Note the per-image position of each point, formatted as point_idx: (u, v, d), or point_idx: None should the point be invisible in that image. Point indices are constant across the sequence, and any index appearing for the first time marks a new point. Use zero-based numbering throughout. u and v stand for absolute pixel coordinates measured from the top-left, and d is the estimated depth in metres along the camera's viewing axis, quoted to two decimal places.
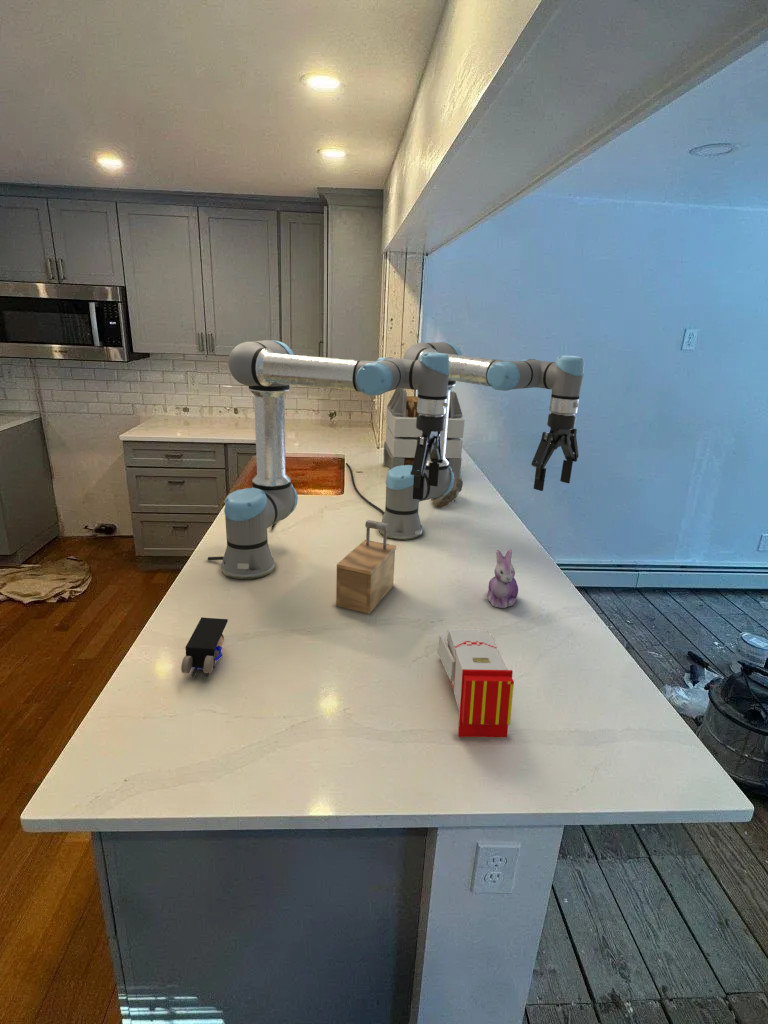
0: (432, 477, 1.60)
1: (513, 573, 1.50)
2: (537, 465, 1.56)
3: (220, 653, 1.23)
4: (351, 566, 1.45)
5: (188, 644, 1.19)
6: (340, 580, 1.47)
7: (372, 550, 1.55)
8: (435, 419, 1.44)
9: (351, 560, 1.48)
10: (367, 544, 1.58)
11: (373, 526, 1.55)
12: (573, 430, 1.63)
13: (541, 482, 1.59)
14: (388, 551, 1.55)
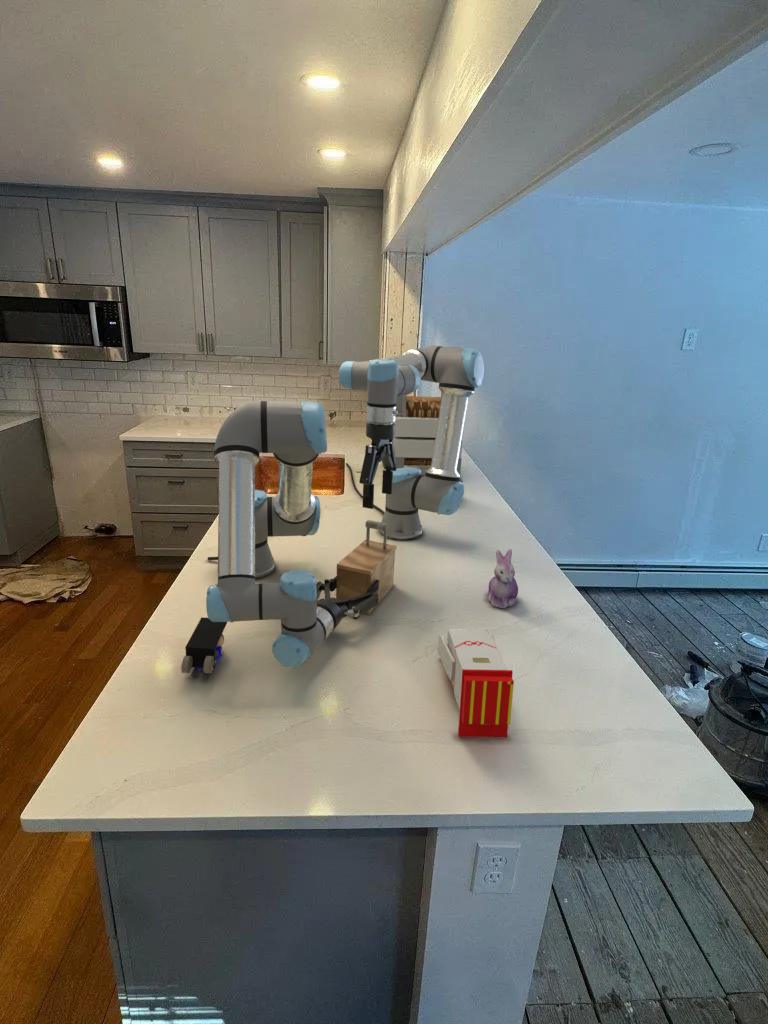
0: None
1: (513, 573, 1.50)
2: (366, 482, 1.41)
3: (220, 653, 1.23)
4: (351, 566, 1.45)
5: (188, 644, 1.19)
6: (340, 580, 1.47)
7: (372, 550, 1.55)
8: None
9: (351, 560, 1.48)
10: (367, 544, 1.58)
11: (373, 526, 1.55)
12: (390, 438, 1.52)
13: (371, 500, 1.46)
14: (388, 551, 1.55)
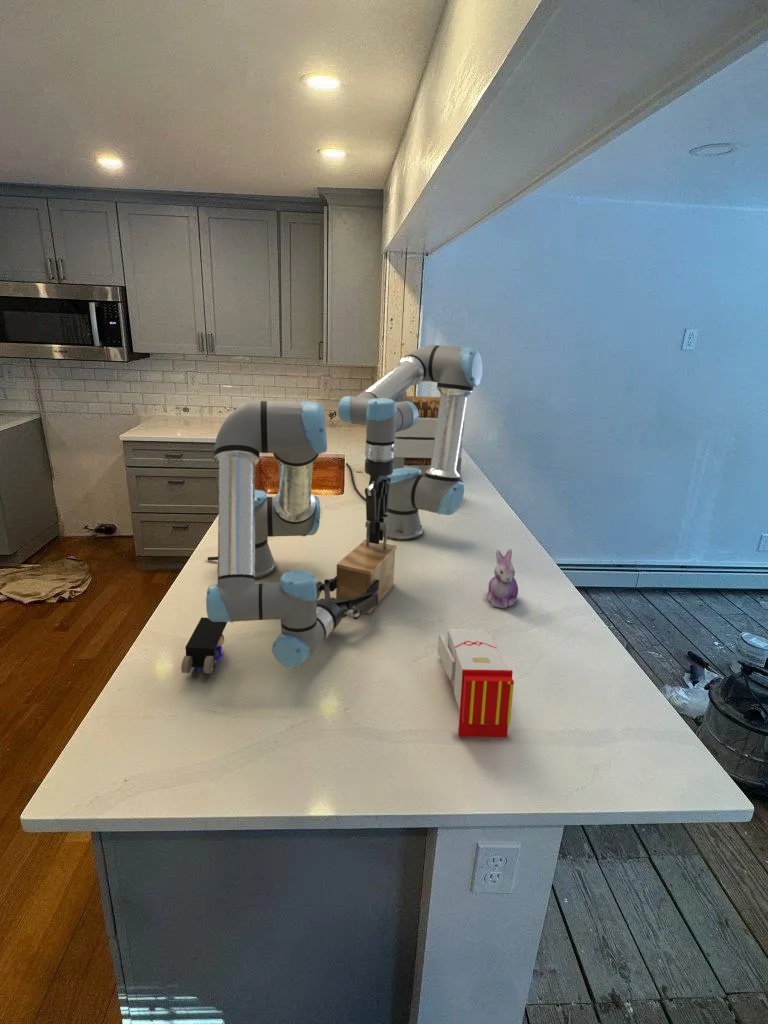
0: None
1: (513, 573, 1.50)
2: (373, 520, 1.50)
3: (220, 653, 1.23)
4: (351, 566, 1.45)
5: (188, 644, 1.19)
6: (340, 580, 1.47)
7: (372, 550, 1.55)
8: None
9: (351, 560, 1.48)
10: (367, 544, 1.58)
11: None
12: (388, 478, 1.56)
13: (377, 535, 1.54)
14: (388, 551, 1.55)
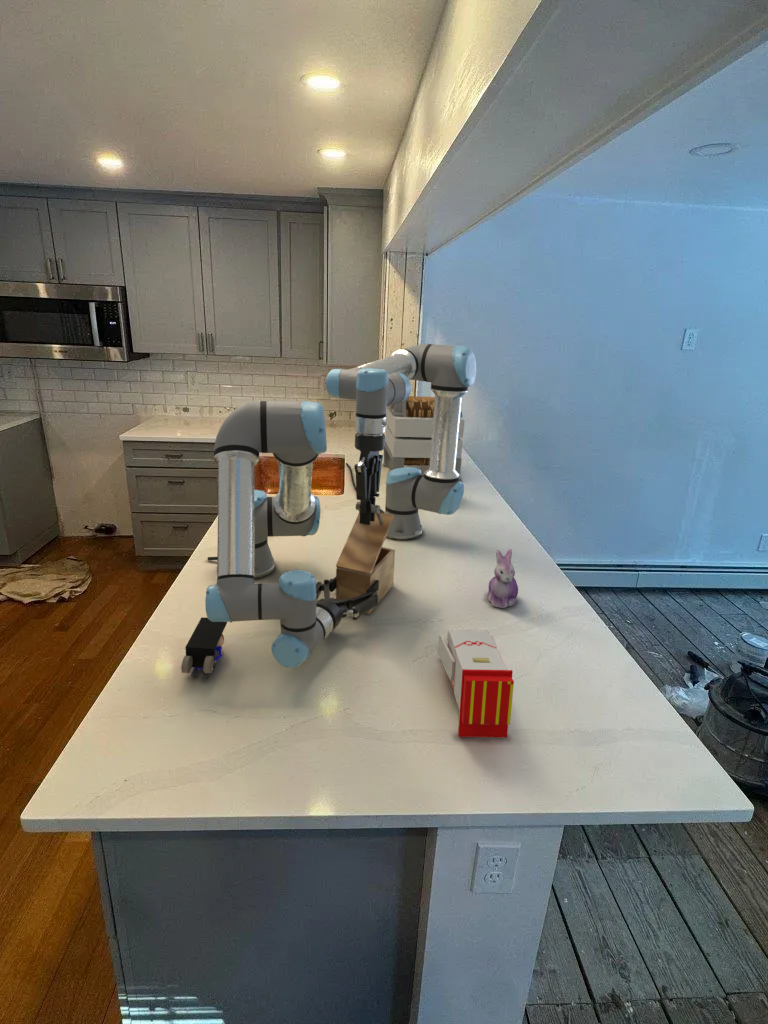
0: None
1: (513, 573, 1.50)
2: (363, 499, 1.41)
3: (220, 653, 1.23)
4: (350, 567, 1.44)
5: (188, 644, 1.19)
6: (340, 581, 1.47)
7: (369, 530, 1.50)
8: None
9: (349, 555, 1.47)
10: None
11: None
12: (380, 455, 1.47)
13: (368, 516, 1.45)
14: (385, 528, 1.50)
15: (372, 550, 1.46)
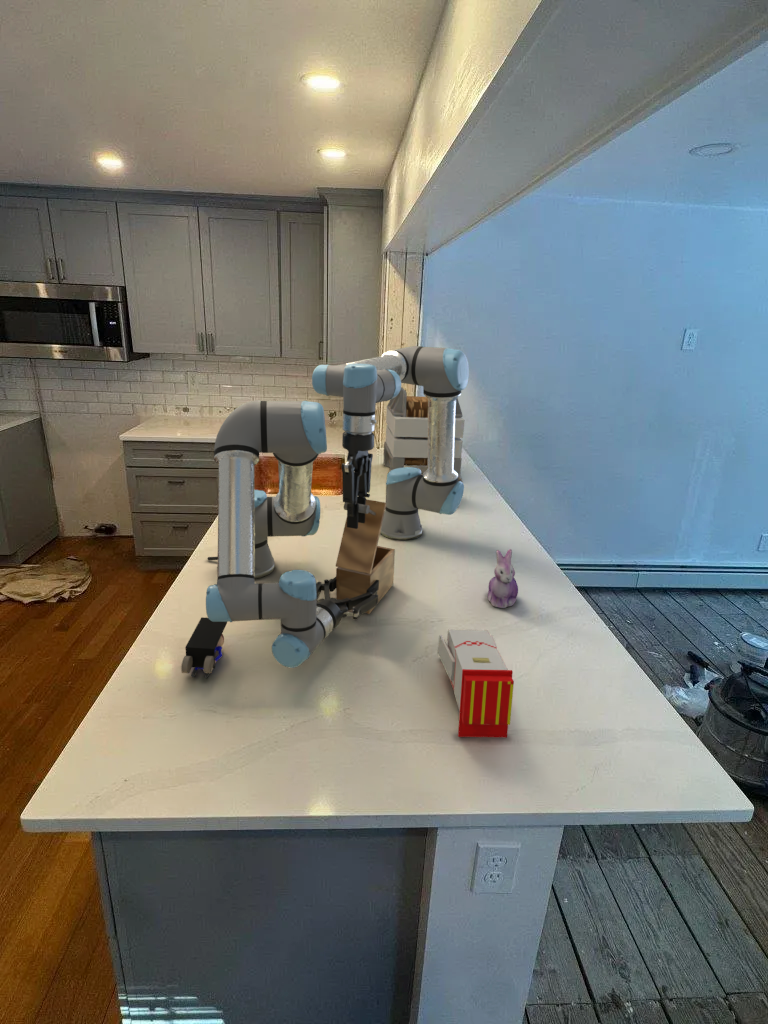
0: None
1: (513, 573, 1.50)
2: (350, 501, 1.34)
3: (220, 653, 1.23)
4: (349, 567, 1.44)
5: (188, 644, 1.19)
6: (340, 580, 1.47)
7: (363, 523, 1.45)
8: None
9: (347, 554, 1.45)
10: None
11: None
12: (369, 454, 1.40)
13: (356, 519, 1.38)
14: (379, 520, 1.44)
15: (369, 547, 1.44)
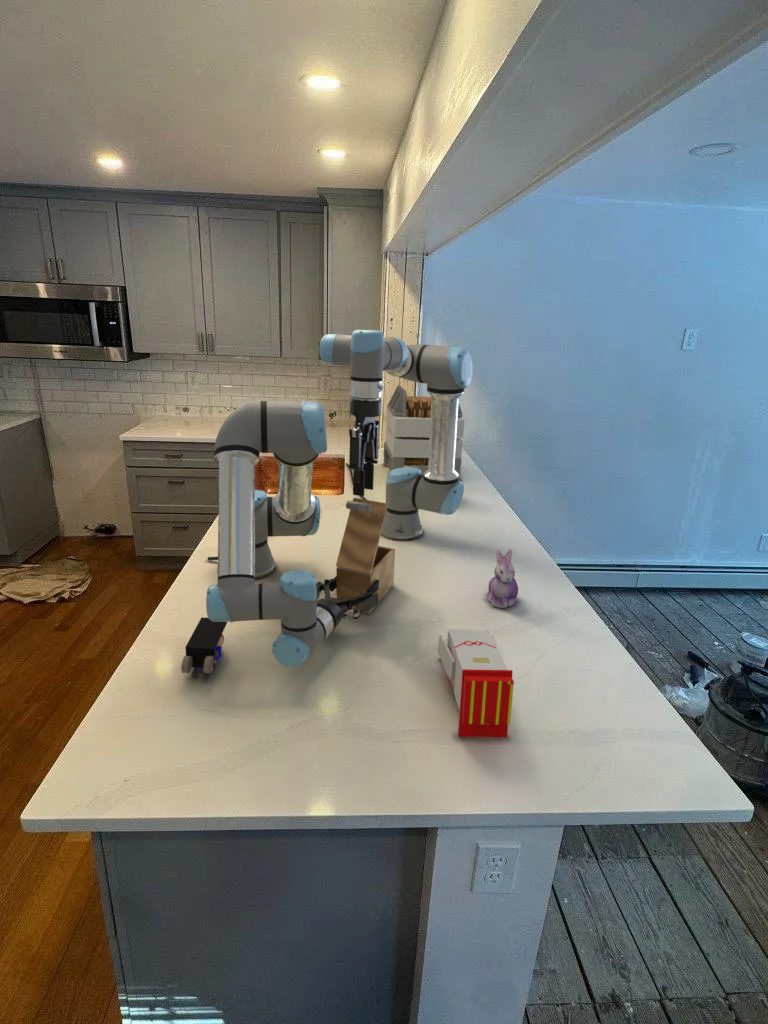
0: None
1: (513, 573, 1.50)
2: (356, 468, 1.34)
3: (220, 653, 1.23)
4: (350, 567, 1.44)
5: (188, 644, 1.19)
6: (340, 580, 1.47)
7: (364, 523, 1.46)
8: None
9: (348, 554, 1.45)
10: (357, 512, 1.47)
11: (355, 510, 1.41)
12: (377, 421, 1.41)
13: (362, 486, 1.38)
14: (380, 521, 1.45)
15: (369, 547, 1.44)
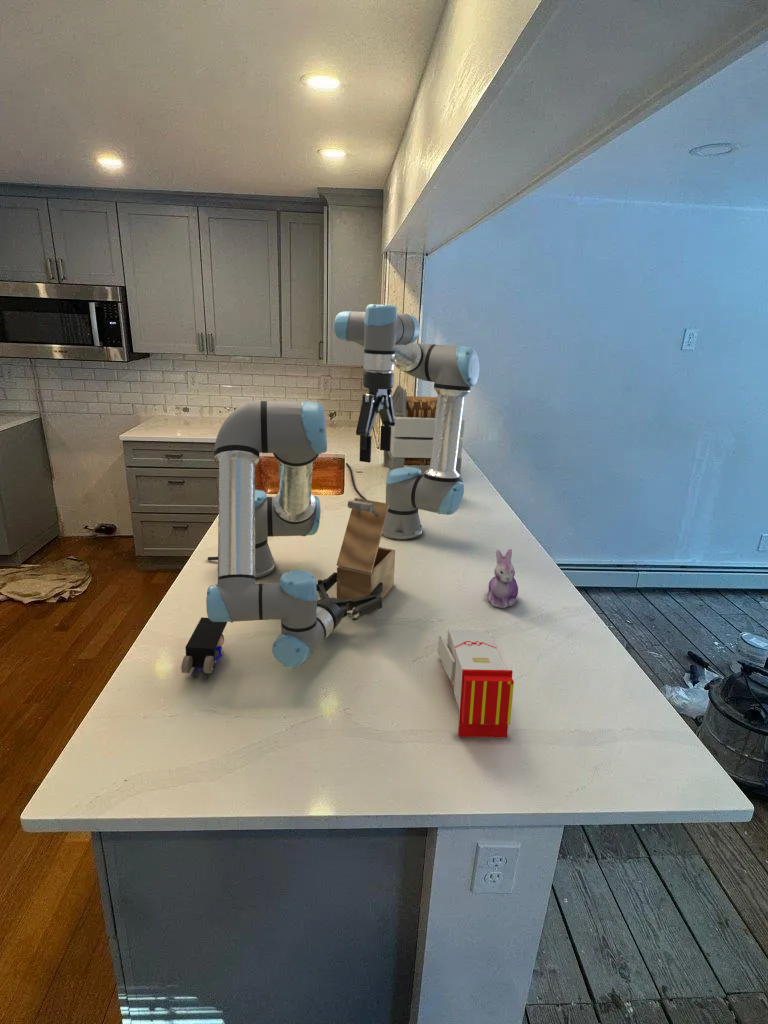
0: None
1: (513, 573, 1.50)
2: (363, 433, 1.34)
3: (220, 653, 1.23)
4: (350, 566, 1.45)
5: (188, 644, 1.19)
6: (340, 580, 1.47)
7: (365, 523, 1.47)
8: None
9: (348, 553, 1.46)
10: (358, 512, 1.48)
11: (357, 509, 1.42)
12: (389, 390, 1.45)
13: (368, 453, 1.38)
14: (381, 520, 1.46)
15: (370, 546, 1.45)
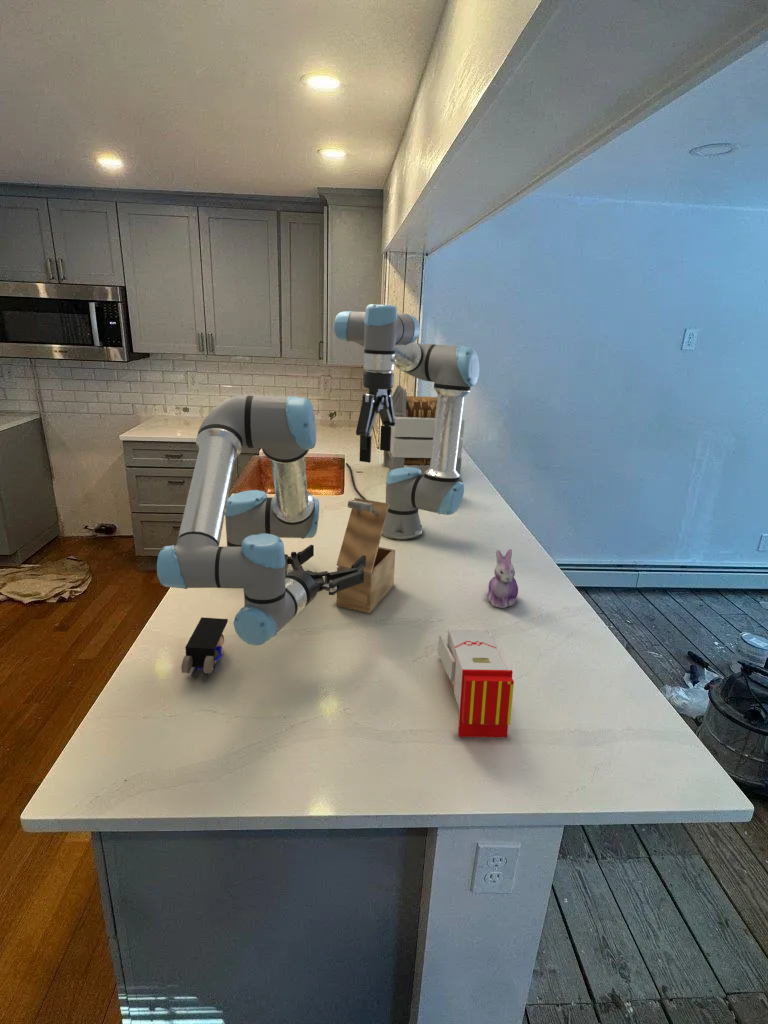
0: None
1: (513, 573, 1.50)
2: (363, 433, 1.34)
3: (220, 653, 1.23)
4: (350, 566, 1.45)
5: (188, 644, 1.19)
6: None
7: (365, 523, 1.47)
8: None
9: (348, 553, 1.46)
10: (358, 512, 1.48)
11: (357, 509, 1.42)
12: (389, 390, 1.45)
13: (368, 453, 1.38)
14: (381, 520, 1.46)
15: (370, 546, 1.45)
